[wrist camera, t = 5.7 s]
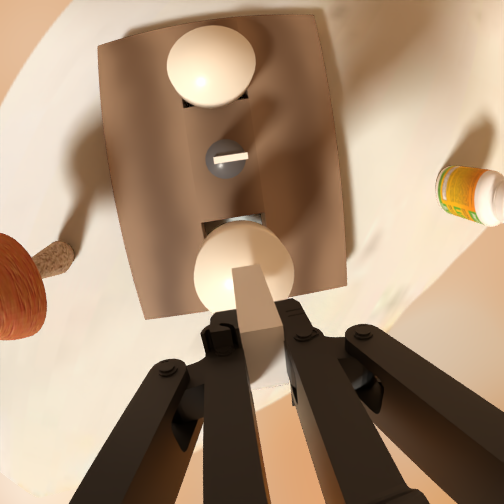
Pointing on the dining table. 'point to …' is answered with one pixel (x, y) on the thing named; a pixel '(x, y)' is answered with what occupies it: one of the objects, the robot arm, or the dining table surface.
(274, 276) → the knob
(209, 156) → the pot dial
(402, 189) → the dining table surface
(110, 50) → the console
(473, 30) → the dining table surface
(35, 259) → the mushroom
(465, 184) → the supplement bottle
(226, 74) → the knob
